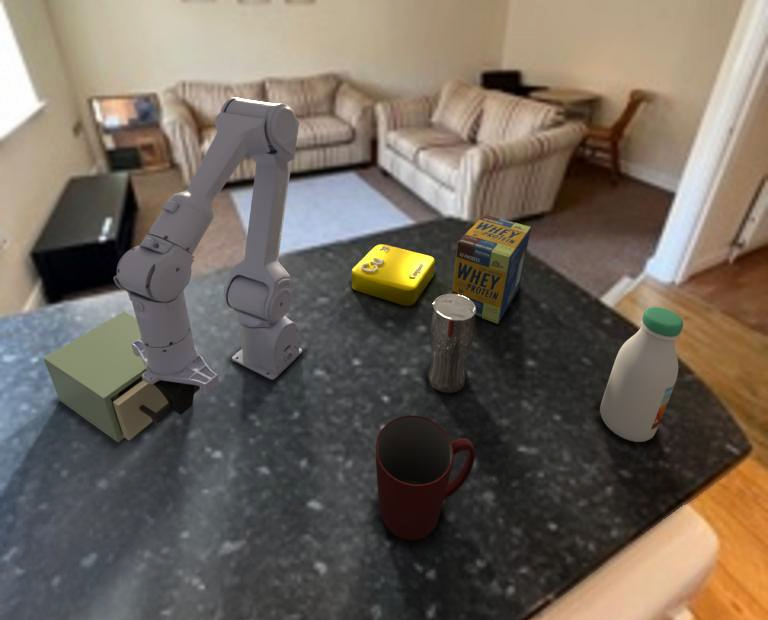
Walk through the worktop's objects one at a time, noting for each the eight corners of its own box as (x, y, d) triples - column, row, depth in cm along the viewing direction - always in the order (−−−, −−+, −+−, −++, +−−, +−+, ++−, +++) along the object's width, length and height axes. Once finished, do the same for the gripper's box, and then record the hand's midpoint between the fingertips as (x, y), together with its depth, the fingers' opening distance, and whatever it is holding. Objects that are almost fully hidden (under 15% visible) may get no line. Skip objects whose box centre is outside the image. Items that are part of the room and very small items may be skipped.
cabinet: (192, 382, 73) (183, 341, 69) (118, 442, 63) (103, 398, 59) (135, 350, 79) (124, 311, 75) (59, 400, 69) (43, 357, 65)
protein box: (449, 307, 93) (456, 241, 86) (476, 272, 105) (484, 213, 98) (498, 325, 88) (510, 257, 81) (521, 287, 100) (532, 225, 93)
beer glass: (471, 371, 76) (482, 300, 70) (460, 401, 71) (470, 326, 64) (433, 358, 79) (440, 288, 73) (419, 386, 73) (425, 312, 67)
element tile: (411, 309, 92) (413, 289, 90) (348, 289, 97) (347, 270, 95) (436, 273, 104) (437, 255, 102) (378, 257, 110) (378, 240, 108)
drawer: (215, 396, 69) (208, 362, 66) (148, 454, 60) (138, 419, 57) (141, 354, 77) (133, 323, 74) (72, 401, 68) (60, 367, 65)
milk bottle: (632, 452, 63) (675, 342, 55) (587, 411, 70) (619, 307, 61) (666, 431, 67) (711, 324, 58) (620, 394, 73) (655, 293, 64)
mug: (454, 464, 61) (462, 406, 56) (480, 532, 53) (492, 471, 49) (368, 481, 59) (369, 421, 54) (382, 555, 51) (385, 493, 46)
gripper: (101, 331, 57) (124, 407, 63) (178, 374, 51) (196, 454, 57) (150, 302, 63) (168, 374, 69) (225, 337, 57) (237, 413, 62)
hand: (184, 408), depth 63 cm, fingers closed
